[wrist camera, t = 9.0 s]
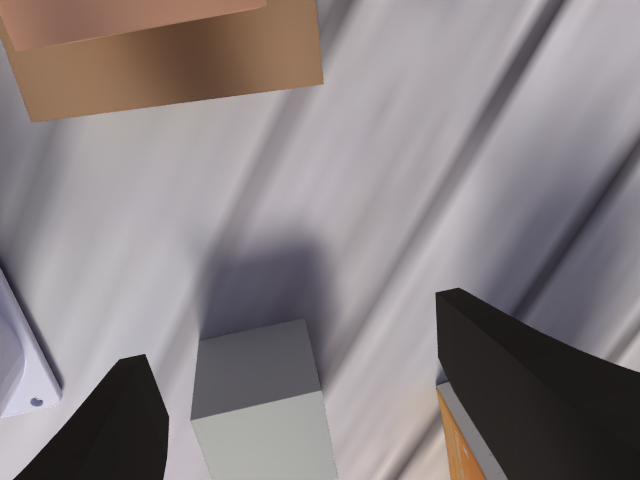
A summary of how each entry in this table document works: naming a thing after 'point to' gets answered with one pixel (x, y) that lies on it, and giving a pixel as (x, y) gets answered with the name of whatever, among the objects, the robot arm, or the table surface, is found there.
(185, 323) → the table surface
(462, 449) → the small box
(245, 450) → the slate grey block
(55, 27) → the terracotta block
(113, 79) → the tan square block
